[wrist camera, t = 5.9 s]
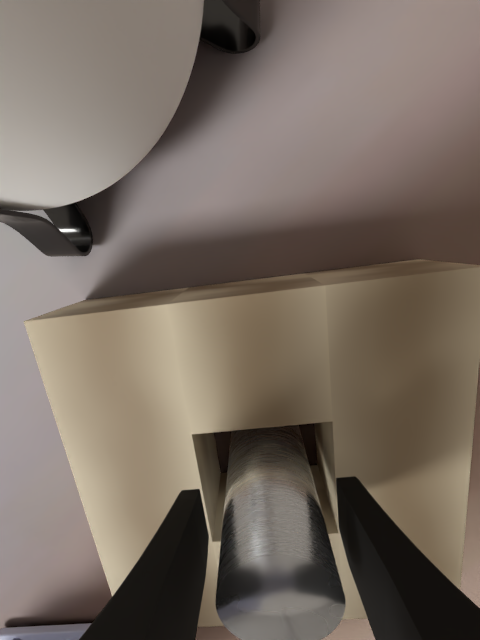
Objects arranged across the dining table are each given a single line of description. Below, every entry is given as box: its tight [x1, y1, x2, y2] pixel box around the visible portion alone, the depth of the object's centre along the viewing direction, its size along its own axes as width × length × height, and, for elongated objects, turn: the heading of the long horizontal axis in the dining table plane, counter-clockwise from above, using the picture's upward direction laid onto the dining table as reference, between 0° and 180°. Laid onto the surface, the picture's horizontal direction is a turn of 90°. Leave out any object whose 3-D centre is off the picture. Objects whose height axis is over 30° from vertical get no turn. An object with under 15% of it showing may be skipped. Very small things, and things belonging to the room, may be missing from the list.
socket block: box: [24, 259, 480, 627], centre depth 12 cm, size 14×14×4 cm
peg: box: [215, 425, 346, 640], centre depth 11 cm, size 3×3×7 cm
